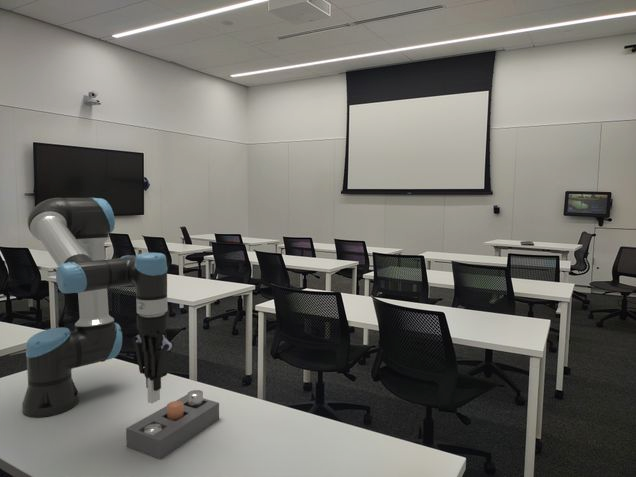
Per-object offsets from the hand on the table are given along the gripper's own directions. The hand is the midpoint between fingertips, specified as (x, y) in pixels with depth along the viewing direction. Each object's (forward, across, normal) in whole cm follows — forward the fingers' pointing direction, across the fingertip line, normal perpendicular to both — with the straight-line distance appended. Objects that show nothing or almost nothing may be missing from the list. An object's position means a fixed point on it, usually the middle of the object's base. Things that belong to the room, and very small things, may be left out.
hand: (153, 400), depth 117 cm
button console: (+12, 0, +8) cm, 14 cm away
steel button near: (+12, 0, 0) cm, 12 cm away
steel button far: (+9, 0, +15) cm, 18 cm away
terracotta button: (+9, 0, +8) cm, 12 cm away
